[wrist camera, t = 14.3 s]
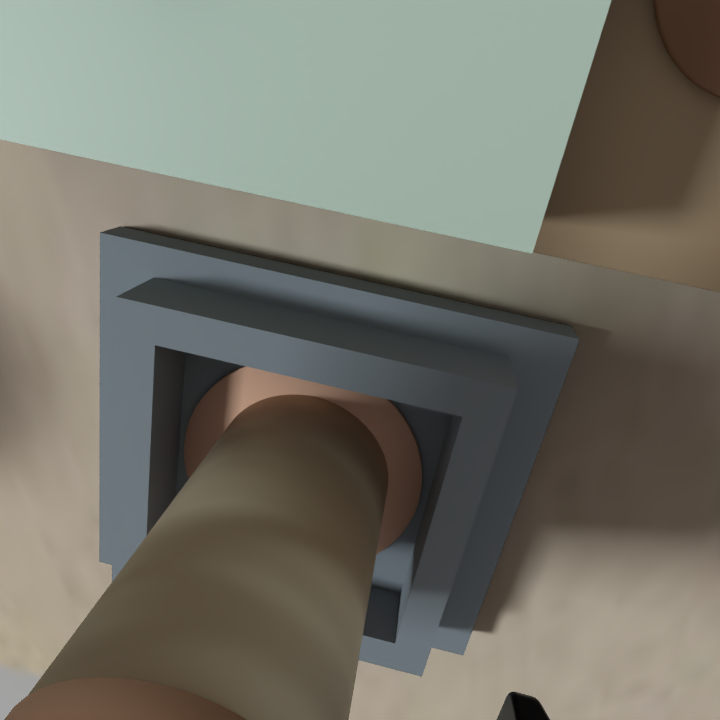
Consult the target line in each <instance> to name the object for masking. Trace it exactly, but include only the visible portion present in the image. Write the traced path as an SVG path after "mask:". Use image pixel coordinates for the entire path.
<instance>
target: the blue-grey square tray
mask: <svg viewBox="0 0 720 720" xmlns="http://www.w3.org/2000/svg"><path fill="white" fill-rule="evenodd" d="M579 340H580V339H579V338H578V336H577V334H576V333H575V331H574V330H573V328H572V326H567V325H563V324H558V323H554V322H549V321H545V320H540V319H536V318H531V317H527V316H522V315H518V314H513V313H509V312H504V311H500V310H495V309H491V308H486V307H482V306H477V305H473V304H468V303H464V302H459V301H455V300H450V299H446V298H441V297H437V296H432V295H427V294H423V293H418V292H414V291H409V290H405V289H400V288H396V287H391V286H387V285H382V284H378V283H373V282H369V281H364V280H360V279H355V278H351V277H346V276H342V275H337V274H333V273H328V272H324V271H319V270H315V269H310V268H306V267H301V266H297V265H292V264H288V263H283V262H279V261H274V260H270V259H265V258H261V257H256V256H252V255H247V254H242V253H238V252H233V251H229V250H224V249H220V248H215V247H211V246H206V245H202V244H197V243H193V242H188V241H184V240H179V239H175V238H170V237H166V236H161V235H157V234H152V233H148V232H143V231H139V230H134V229H130V228H125V227H121V226H120V227H117V228H114V229H110V230H107V231H104V232H100V548H99V562H103V563H107V564H110V565H112V582H113V580H114V579H115V578H116V576H117V575H118V574H119V572H120V571H121V570H122V568H123V567H124V566H125V564H126V563H127V562H128V560H129V559H130V558H131V556H132V555H133V553H134V552H135V551H136V549H137V548H138V547H139V545H140V544H141V543H142V541H143V540H144V539H145V537H146V536H147V535H148V533H149V532H150V531H151V529H152V528H153V527H154V525H155V524H156V523H157V521H158V520H159V518H160V517H161V516H162V514H163V513H164V512H165V510H166V509H167V508H168V506H169V505H170V504H171V502H172V501H173V500H174V498H175V497H176V496H177V494H178V493H179V492H180V490H181V489H182V488H183V486H184V485H185V484H186V482H187V481H188V479H189V478H190V477H191V475H192V474H193V473H194V471H195V470H196V469H197V467H198V466H199V465H200V463H201V462H202V461H203V459H204V458H205V457H206V455H207V454H208V453H209V451H210V450H211V449H212V447H213V446H214V445H215V443H216V442H217V440H218V439H219V438H220V436H221V435H222V434H223V432H224V431H225V430H226V428H227V427H228V426H229V424H230V423H231V422H232V420H233V419H234V418H235V417H236V416H237V415H238V414H239V413H240V412H241V411H243V410H244V409H246V408H247V407H248V406H250V405H252V404H254V403H256V402H258V401H260V400H263V399H266V398H269V397H274V396H279V395H290V394H294V395H306V396H312V397H317V398H320V399H323V400H327V401H329V402H331V403H334V404H336V405H338V406H340V407H342V408H344V409H345V410H347V411H349V412H350V413H351V414H353V415H354V416H355V417H357V418H358V419H359V420H360V421H361V422H362V423H363V424H364V425H365V426H367V428H368V429H369V430H370V431H371V433H372V434H373V435H374V437H375V438H376V440H377V441H378V443H379V444H380V447H381V449H382V451H383V453H384V456H385V459H386V463H387V468H388V489H387V495H386V501H385V507H384V512H383V518H382V524H381V530H380V536H379V542H378V548H377V554H376V560H375V565H374V571H373V577H372V583H371V589H370V595H369V601H368V607H367V613H366V618H365V624H364V630H363V636H362V642H361V648H360V654H359V660H361V661H364V662H368V663H372V664H376V665H380V666H384V667H387V668H391V669H395V670H399V671H403V672H407V673H410V674H414V675H418V676H422V674H423V671H424V668H425V665H426V662H427V659H428V656H429V653H430V650H431V647H432V648H436V649H440V650H444V651H448V652H452V653H456V654H460V655H463V654H464V652H465V649H466V646H467V644H468V641H469V638H470V635H471V633H472V630H473V627H474V625H475V622H476V619H477V616H478V614H479V611H480V608H481V606H482V603H483V600H484V597H485V595H486V592H487V589H488V587H489V584H490V581H491V578H492V576H493V573H494V570H495V568H496V565H497V562H498V560H499V557H500V554H501V551H502V549H503V546H504V543H505V541H506V538H507V535H508V532H509V530H510V527H511V524H512V522H513V519H514V516H515V513H516V511H517V508H518V505H519V503H520V500H521V497H522V494H523V492H524V489H525V486H526V484H527V481H528V478H529V475H530V473H531V470H532V467H533V465H534V462H535V459H536V456H537V454H538V451H539V448H540V446H541V443H542V440H543V437H544V435H545V432H546V429H547V427H548V424H549V421H550V418H551V416H552V413H553V410H554V408H555V405H556V402H557V399H558V397H559V394H560V391H561V389H562V386H563V383H564V381H565V378H566V375H567V372H568V370H569V367H570V364H571V362H572V359H573V356H574V353H575V351H576V348H577V345H578V343H579Z"/></svg>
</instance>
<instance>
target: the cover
mask: <svg viewBox="0 0 720 720" xmlns="http://www.w3.org/2000/svg"><path fill="white" fill-rule="evenodd" d="M610 3H611V0H0V139H1V140H6V141H10V142H15V143H20V144H24V145H29V146H33V147H38V148H43V149H47V150H52V151H57V152H61V153H66V154H71V155H75V156H80V157H85V158H89V159H94V160H99V161H103V162H108V163H113V164H117V165H122V166H126V167H131V168H136V169H140V170H145V171H150V172H154V173H159V174H164V175H168V176H173V177H178V178H182V179H187V180H192V181H196V182H201V183H205V184H210V185H215V186H219V187H224V188H229V189H233V190H238V191H243V192H247V193H252V194H257V195H261V196H266V197H271V198H275V199H280V200H285V201H289V202H294V203H298V204H303V205H308V206H312V207H317V208H322V209H326V210H331V211H336V212H340V213H345V214H350V215H354V216H359V217H364V218H368V219H373V220H378V221H382V222H387V223H391V224H396V225H401V226H405V227H410V228H415V229H419V230H424V231H429V232H433V233H438V234H443V235H447V236H452V237H457V238H461V239H466V240H471V241H475V242H480V243H484V244H489V245H494V246H498V247H503V248H508V249H512V250H517V251H522V252H526V253H531V254H532V253H533V250H534V247H535V244H536V241H537V237H538V234H539V231H540V228H541V225H542V221H543V218H544V215H545V212H546V209H547V205H548V202H549V199H550V196H551V192H552V189H553V186H554V183H555V180H556V176H557V173H558V170H559V167H560V164H561V160H562V157H563V154H564V151H565V148H566V144H567V141H568V138H569V135H570V132H571V128H572V125H573V122H574V119H575V116H576V112H577V109H578V106H579V103H580V100H581V96H582V93H583V90H584V87H585V84H586V80H587V77H588V74H589V71H590V68H591V64H592V61H593V58H594V55H595V52H596V48H597V45H598V42H599V39H600V36H601V32H602V29H603V26H604V23H605V20H606V16H607V13H608V10H609V7H610Z"/></svg>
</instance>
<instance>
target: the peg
mask: <svg viewBox="0 0 720 720" xmlns="http://www.w3.org/2000/svg"><path fill="white" fill-rule="evenodd" d="M387 489H388V468H387V463H386V459H385V456H384V453H383V451H382V449H381V447H380V444H379V443H378V441H377V440H376V438H375V437H374V435H373V434H372V433H371V431H370V430H369V429H368V428H367V426H365V425H364V424H363V423H362V422H361V421H360V420H359V419H358V418H357V417H355V416H354V415H353V414H351V413H350V412H349V411H347V410H345V409H344V408H342V407H340V406H338V405H336V404H334V403H331V402H329V401H327V400H323V399H320V398H317V397H312V396H306V395H294V394H290V395H279V396H274V397H269V398H266V399H263V400H260V401H258V402H256V403H254V404H252V405H250V406H248V407H247V408H246V409H244V410H243V411H241V412H240V413H239V414H238V415H237V416H236V417H235V418H234V419H233V420H232V422H231V423H230V424H229V426H228V427H227V428H226V430H225V431H224V432H223V434H222V435H221V436H220V438H219V439H218V440H217V442H216V443H215V445H214V446H213V447H212V449H211V450H210V451H209V453H208V454H207V455H206V457H205V458H204V459H203V461H202V462H201V463H200V465H199V466H198V467H197V469H196V470H195V471H194V473H193V474H192V475H191V477H190V478H189V479H188V481H187V482H186V484H185V485H184V486H183V488H182V489H181V490H180V492H179V493H178V494H177V496H176V497H175V498H174V500H173V501H172V502H171V504H170V505H169V506H168V508H167V509H166V510H165V512H164V513H163V514H162V516H161V517H160V518H159V520H158V521H157V523H156V524H155V525H154V527H153V528H152V529H151V531H150V532H149V533H148V535H147V536H146V537H145V539H144V540H143V541H142V543H141V544H140V545H139V547H138V548H137V549H136V551H135V552H134V553H133V555H132V556H131V558H130V559H129V560H128V562H127V563H126V564H125V566H124V567H123V568H122V570H121V571H120V572H119V574H118V575H117V576H116V578H115V579H114V580H113V582H112V583H111V584H110V586H109V587H108V588H107V590H106V591H105V592H104V594H103V595H102V597H101V598H100V599H99V601H98V602H97V603H96V605H95V606H94V607H93V609H92V610H91V611H90V613H89V614H88V615H87V617H86V618H85V619H84V621H83V622H82V623H81V625H80V626H79V627H78V629H77V630H76V631H75V633H74V634H73V636H72V637H71V638H70V640H69V641H68V642H67V644H66V645H65V646H64V648H63V649H62V650H61V652H60V653H59V654H58V656H57V657H56V658H55V660H54V661H53V662H52V664H51V665H50V666H49V668H48V669H47V670H46V672H45V673H44V675H43V676H42V677H41V679H40V680H39V681H38V683H37V684H36V685H35V687H34V688H33V690H32V691H31V692H30V693H29V695H28V696H27V697H25V698H24V699H23V700H22V701H21V702H19V703H18V704H17V705H16V706H15V707H14V708H13V709H12V710H11V712H10V713H9V714H8V716H7V717H6V718H5V720H348V719H349V713H350V707H351V701H352V695H353V689H354V683H355V677H356V671H357V666H358V660H359V654H360V648H361V642H362V636H363V630H364V624H365V618H366V613H367V607H368V601H369V595H370V589H371V583H372V577H373V571H374V565H375V560H376V554H377V548H378V542H379V536H380V530H381V524H382V518H383V512H384V507H385V501H386V495H387Z"/></svg>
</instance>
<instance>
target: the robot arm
mask: <svg viewBox="0 0 720 720" xmlns="http://www.w3.org/2000/svg"><path fill="white" fill-rule="evenodd" d="M497 720H550V719H549V717H548V716H547V714H546V712H545V710H544V709H543V707H542V705H541V703H540V702H539V701H538V700H537V699H536V698H535V697H532V696H529V695H525V694H521V693H517V692H510V693H509V694H508V695H507V697H506V699H505V702H504V704H503V706H502V709H501V711H500V713H499V716H498V718H497Z"/></svg>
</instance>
